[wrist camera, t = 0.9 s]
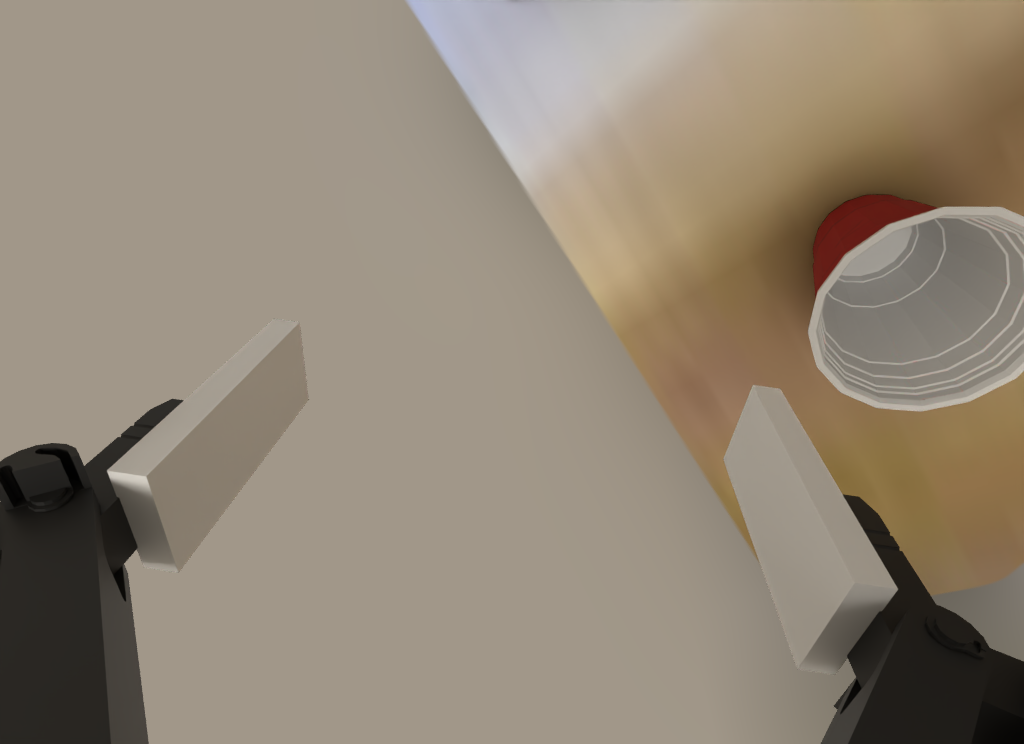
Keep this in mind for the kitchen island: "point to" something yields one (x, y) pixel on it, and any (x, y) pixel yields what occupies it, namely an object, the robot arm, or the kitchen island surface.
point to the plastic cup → (918, 301)
